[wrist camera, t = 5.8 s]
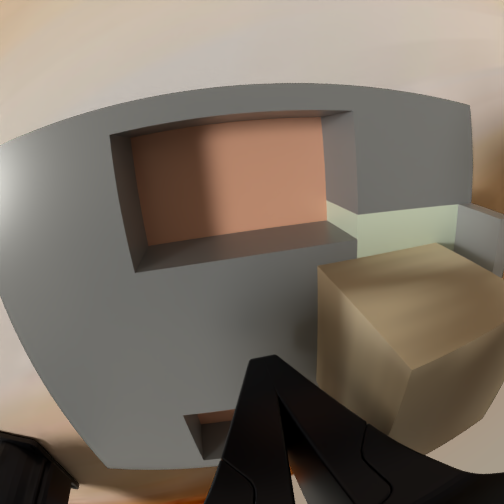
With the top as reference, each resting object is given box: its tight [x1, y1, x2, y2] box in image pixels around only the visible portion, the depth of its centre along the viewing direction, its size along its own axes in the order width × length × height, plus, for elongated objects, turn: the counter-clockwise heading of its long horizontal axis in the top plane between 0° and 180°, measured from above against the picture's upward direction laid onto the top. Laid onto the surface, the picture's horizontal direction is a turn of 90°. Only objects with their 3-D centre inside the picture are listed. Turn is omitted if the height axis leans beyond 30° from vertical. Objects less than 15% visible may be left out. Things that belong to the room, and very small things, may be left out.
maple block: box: [316, 243, 504, 455], centre depth 7 cm, size 4×4×4 cm
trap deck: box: [0, 83, 504, 470], centre depth 9 cm, size 16×14×4 cm
